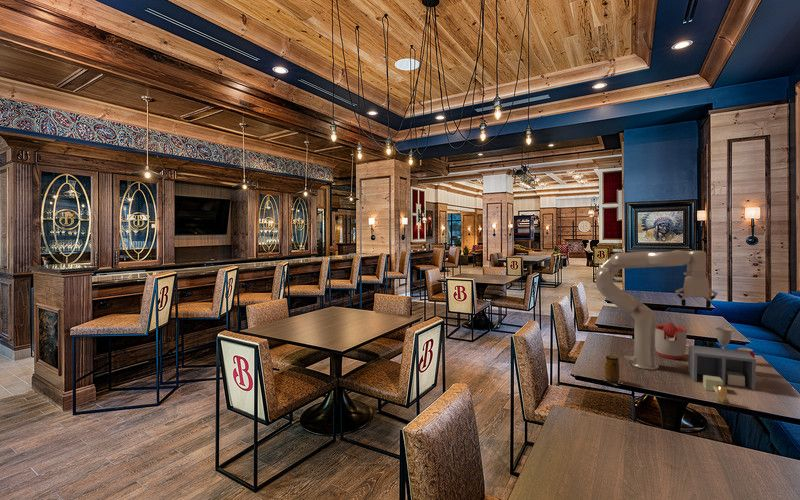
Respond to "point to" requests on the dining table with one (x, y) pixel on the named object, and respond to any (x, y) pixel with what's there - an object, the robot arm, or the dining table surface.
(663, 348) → the citrus juicer
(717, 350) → the cubby shelf
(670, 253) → the robot arm
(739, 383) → the grey block
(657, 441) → the dining table surface
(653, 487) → the dining table surface
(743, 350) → the soda can
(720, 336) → the chalice
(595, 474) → the dining table surface
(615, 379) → the condiment
